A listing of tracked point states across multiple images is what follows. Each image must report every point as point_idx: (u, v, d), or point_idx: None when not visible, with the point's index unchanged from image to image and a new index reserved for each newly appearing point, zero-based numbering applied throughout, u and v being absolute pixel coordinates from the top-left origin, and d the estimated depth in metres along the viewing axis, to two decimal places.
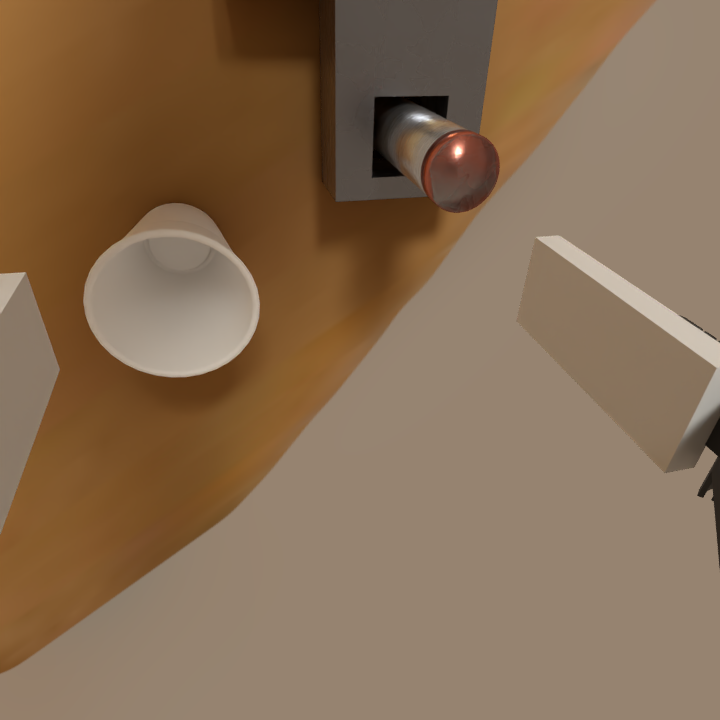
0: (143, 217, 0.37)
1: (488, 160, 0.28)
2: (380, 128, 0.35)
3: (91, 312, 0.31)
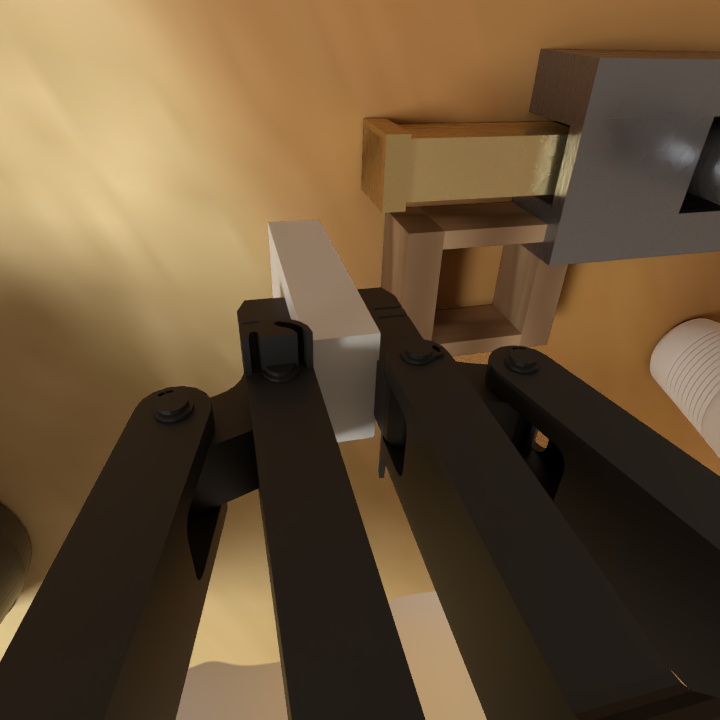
0: (661, 386, 0.42)
1: None
2: None
3: None
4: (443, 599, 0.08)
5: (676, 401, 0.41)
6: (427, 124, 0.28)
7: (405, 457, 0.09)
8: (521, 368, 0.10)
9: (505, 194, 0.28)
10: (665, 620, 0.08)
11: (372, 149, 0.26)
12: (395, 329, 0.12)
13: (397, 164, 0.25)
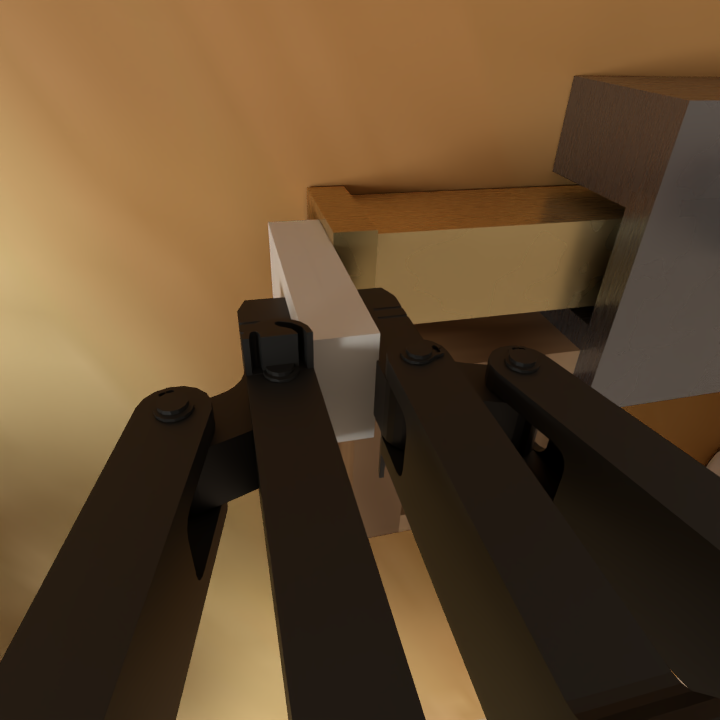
0: None
1: None
2: None
3: None
4: (443, 599, 0.08)
5: None
6: (411, 194, 0.18)
7: (405, 457, 0.09)
8: (521, 368, 0.10)
9: (534, 308, 0.17)
10: (664, 620, 0.08)
11: None
12: (395, 329, 0.12)
13: (355, 277, 0.15)
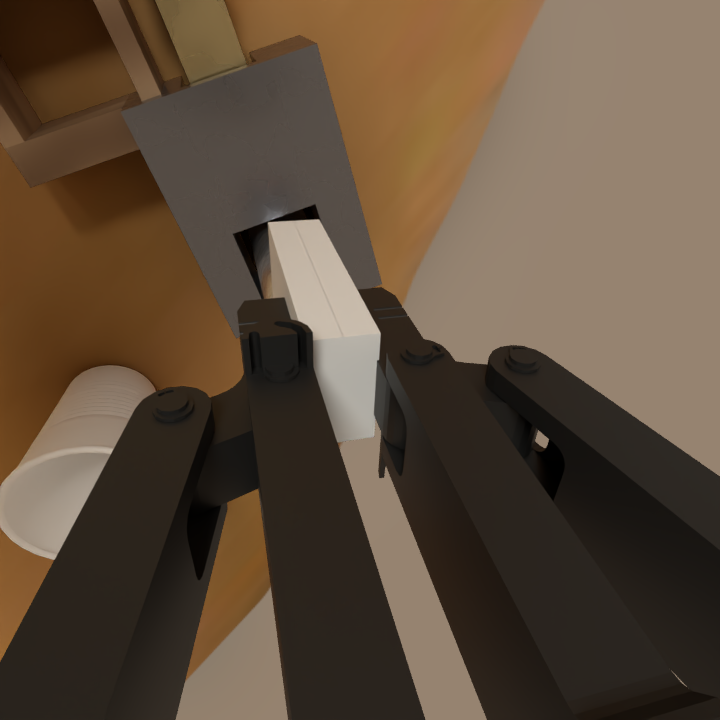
0: (62, 396, 0.37)
1: None
2: (254, 257, 0.32)
3: (14, 535, 0.31)
4: (444, 599, 0.08)
5: (54, 410, 0.35)
6: None
7: (405, 457, 0.09)
8: (521, 368, 0.10)
9: None
10: (665, 620, 0.08)
11: None
12: (395, 329, 0.12)
13: None
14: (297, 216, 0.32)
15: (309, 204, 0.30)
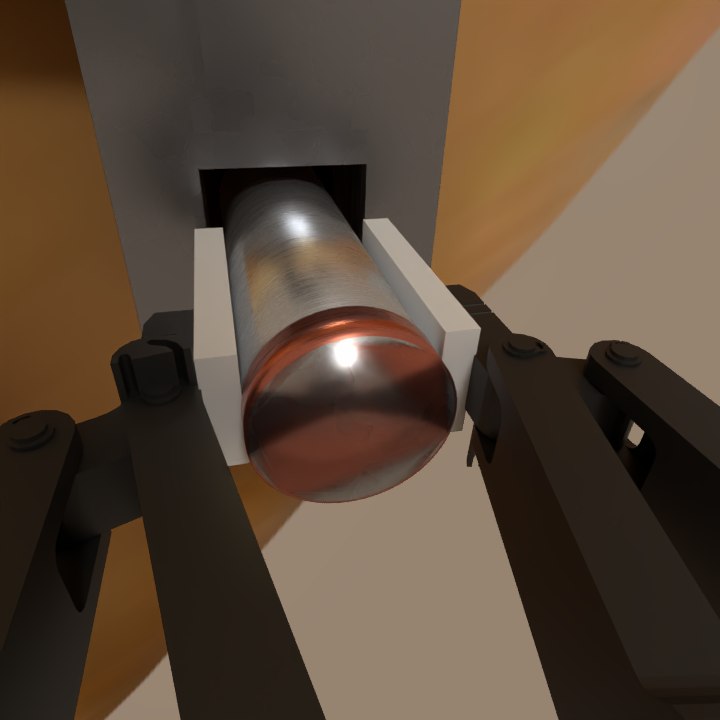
0: None
1: (424, 390, 0.10)
2: (225, 228, 0.17)
3: None
4: (521, 583, 0.09)
5: None
6: None
7: (496, 445, 0.10)
8: (622, 361, 0.10)
9: None
10: None
11: None
12: (483, 325, 0.12)
13: None
14: (319, 183, 0.18)
15: (356, 161, 0.16)
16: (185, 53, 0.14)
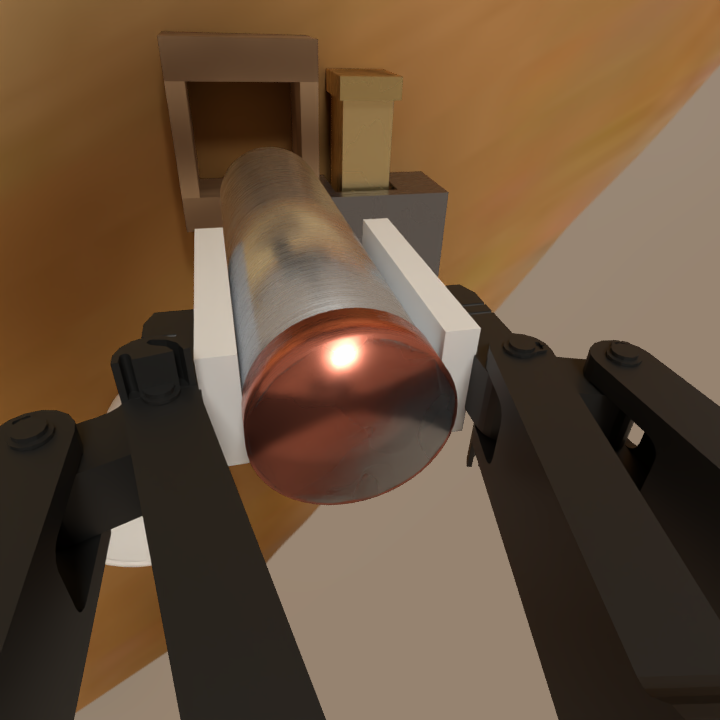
0: (115, 402, 0.39)
1: (425, 392, 0.10)
2: (225, 230, 0.17)
3: None
4: (521, 583, 0.09)
5: None
6: None
7: (496, 445, 0.10)
8: (622, 361, 0.10)
9: None
10: None
11: (373, 72, 0.31)
12: (483, 325, 0.12)
13: (379, 89, 0.30)
14: (319, 184, 0.18)
15: None
16: None
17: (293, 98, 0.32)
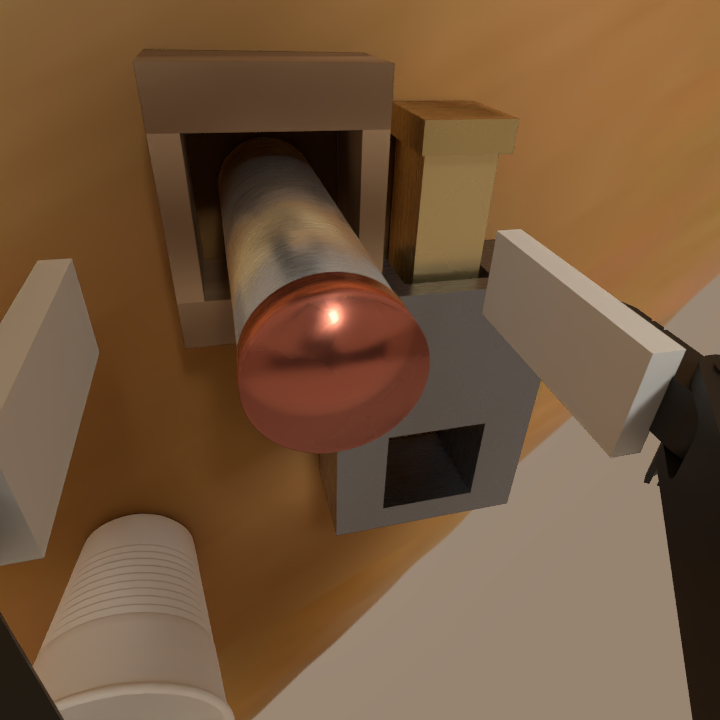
0: (89, 550, 0.29)
1: (400, 347, 0.11)
2: (223, 213, 0.18)
3: None
4: (680, 595, 0.08)
5: (83, 578, 0.27)
6: None
7: (684, 460, 0.10)
8: None
9: None
10: None
11: (466, 108, 0.21)
12: None
13: (482, 137, 0.19)
14: (311, 171, 0.19)
15: (479, 422, 0.26)
16: None
17: (344, 147, 0.21)
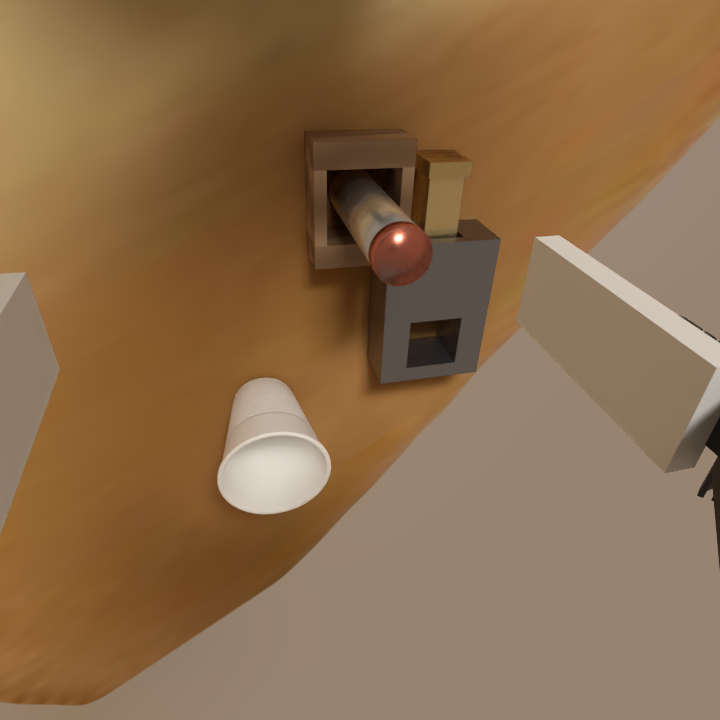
0: (243, 392, 0.52)
1: (423, 246, 0.34)
2: (341, 204, 0.41)
3: (221, 481, 0.45)
4: None
5: (245, 401, 0.50)
6: None
7: None
8: None
9: None
10: None
11: (449, 155, 0.44)
12: None
13: (456, 170, 0.42)
14: (378, 185, 0.42)
15: (458, 317, 0.49)
16: (414, 294, 0.47)
17: (391, 173, 0.44)
